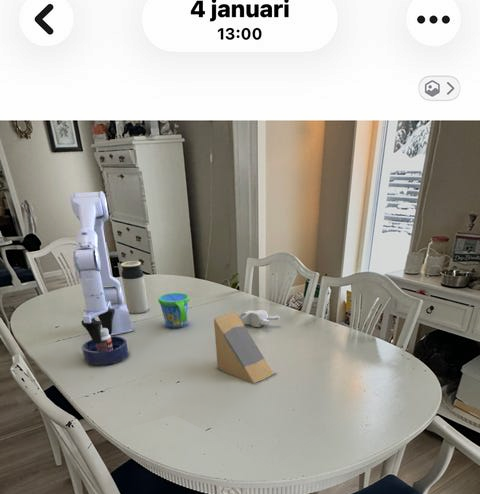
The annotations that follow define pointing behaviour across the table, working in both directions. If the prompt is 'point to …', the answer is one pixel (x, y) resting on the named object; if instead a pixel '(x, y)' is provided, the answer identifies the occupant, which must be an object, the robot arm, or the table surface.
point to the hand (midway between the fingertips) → (103, 338)
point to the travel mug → (134, 287)
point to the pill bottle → (104, 341)
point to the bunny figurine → (257, 318)
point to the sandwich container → (238, 350)
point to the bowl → (105, 352)
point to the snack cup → (174, 309)
